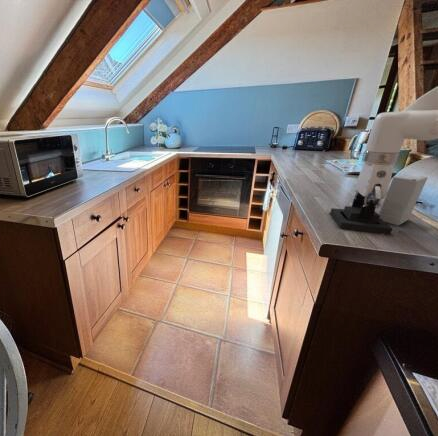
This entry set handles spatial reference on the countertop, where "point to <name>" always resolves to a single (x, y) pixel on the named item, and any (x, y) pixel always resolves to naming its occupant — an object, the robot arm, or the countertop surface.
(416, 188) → the cosmetic box
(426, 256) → the countertop surface
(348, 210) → the black pad
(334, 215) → the frame
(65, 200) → the countertop surface
